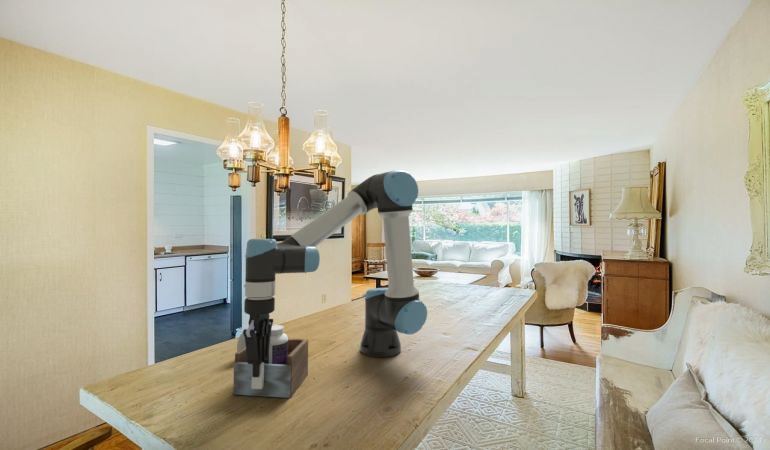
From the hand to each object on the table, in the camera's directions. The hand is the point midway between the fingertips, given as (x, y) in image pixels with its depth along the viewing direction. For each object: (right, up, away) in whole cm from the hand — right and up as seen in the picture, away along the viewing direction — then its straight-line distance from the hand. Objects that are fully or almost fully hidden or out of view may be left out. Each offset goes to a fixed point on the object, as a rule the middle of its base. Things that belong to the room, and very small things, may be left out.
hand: (257, 387), depth 91 cm
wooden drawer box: (+1, -4, +10) cm, 11 cm away
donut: (-14, -4, +30) cm, 33 cm away
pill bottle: (+1, -2, +11) cm, 11 cm away
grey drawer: (+1, -3, +9) cm, 9 cm away
